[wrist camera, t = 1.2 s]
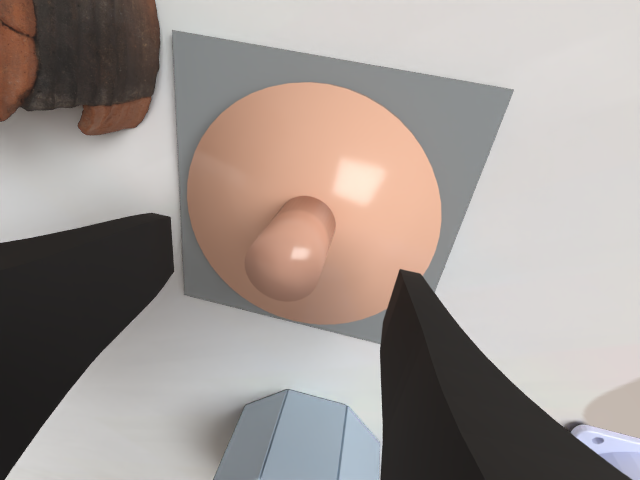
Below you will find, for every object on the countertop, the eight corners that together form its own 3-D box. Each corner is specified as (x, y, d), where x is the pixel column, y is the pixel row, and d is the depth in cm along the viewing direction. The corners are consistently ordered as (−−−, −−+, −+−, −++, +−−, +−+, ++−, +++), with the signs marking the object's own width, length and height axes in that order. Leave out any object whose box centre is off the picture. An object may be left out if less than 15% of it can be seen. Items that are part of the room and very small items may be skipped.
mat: (510, 89, 11) (513, 89, 11) (410, 345, 17) (411, 351, 17) (178, 31, 12) (172, 30, 12) (188, 290, 18) (184, 294, 18)
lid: (480, 110, 11) (526, 131, 8) (399, 335, 16) (402, 418, 12) (193, 59, 12) (103, 54, 8) (199, 286, 17) (143, 348, 13)
